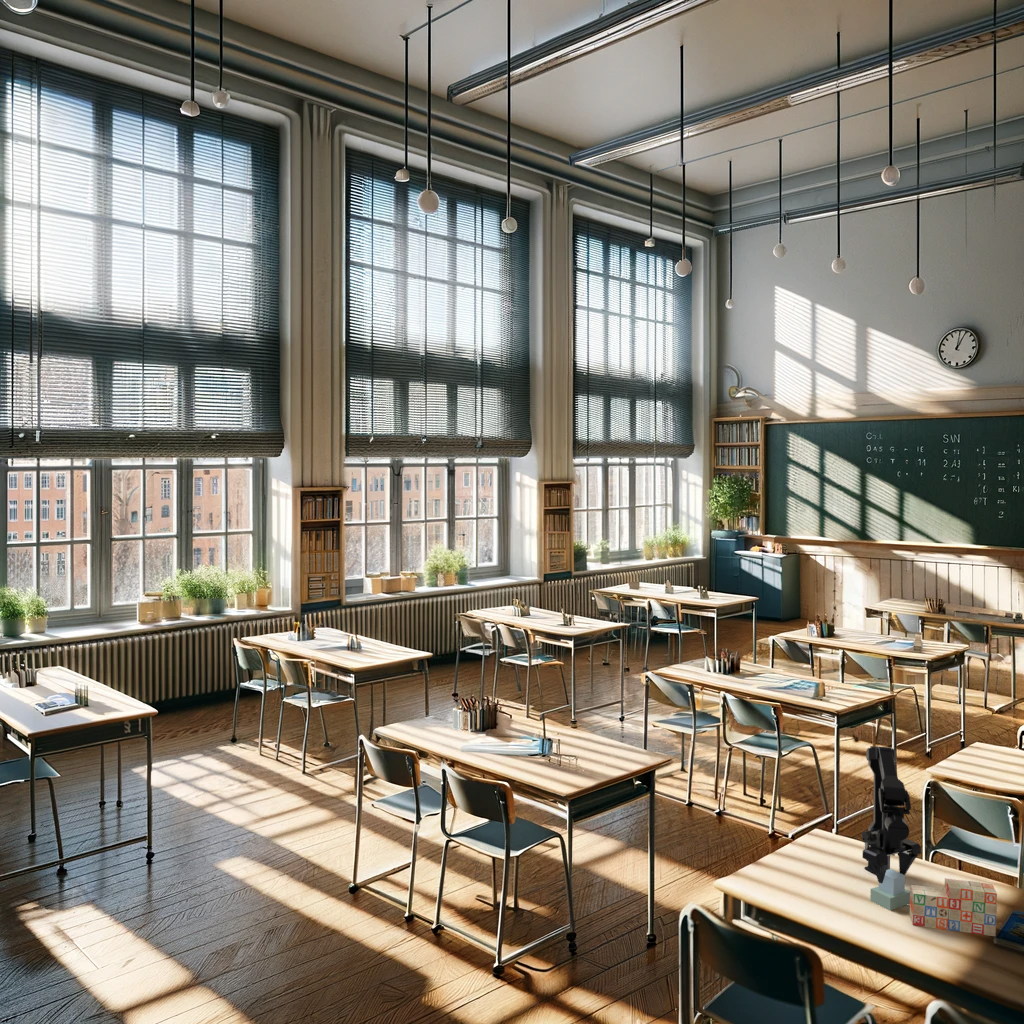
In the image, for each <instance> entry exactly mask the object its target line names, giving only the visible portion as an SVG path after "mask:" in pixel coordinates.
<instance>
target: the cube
mask: <svg viewBox="0 0 1024 1024" xmlns="http://www.w3.org/2000/svg"><path fill="white" fill-rule="evenodd" d="M905 883H906V874H905V875H903V874H901V873H900V872H898V871H896V870H894V869H892V868H890V869H889V870H886V873H885V877H884V880H883V883H879V882H878V886H879V889H880V890H882V891H884V892H887V893H889V894H891V895H893V896H894V895H897V894H900V893H903V892H904V891H905V889H906V888H905V887H906V885H905Z"/></svg>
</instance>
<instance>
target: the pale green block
mask: <svg viewBox="0 0 1024 1024" xmlns="http://www.w3.org/2000/svg"><path fill="white" fill-rule="evenodd" d="M869 900H870V902H871V903H873V902H874V904H875V903H876V904H875V905H878V906H879V905H880V907H881V906H882V908H883V907H884V908H883V909H885V908H886V910H888V911H890V910H891V911H893V909H894V910H897V909H900V908H902V907H901V906H904V905H907V904H910V890H908V889H906V888H905V891H904V892H903V893H900V894H897V895H894V896H893V895H891V894H889V893H887V892H884V891H882V890H880V889H879V885H878V886H875V887H872V888H870V899H869ZM907 906H908V905H907ZM899 907H900V908H899ZM904 907H905V906H904ZM896 908H897V909H896Z"/></svg>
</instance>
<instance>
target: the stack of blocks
mask: <svg viewBox="0 0 1024 1024" xmlns="http://www.w3.org/2000/svg"><path fill="white" fill-rule="evenodd" d="M909 889H910V890H909V891H910V905H909V916H910V917H909V918H910V922H911V924H912V925H913V926H918V927H924V928H925V927H926V928H930V927H931V928H932V929H939V930H946V931H947V930H948V931H953V932H961V933H968V934H969V933H970V934H975V935H984V936H990V937H991V936H992V937H996V936H997V935H996V933H997V915H998V914H997V913H998V904H997V903H998V901H997V900H998V893H997V891H996V889H995V887H994V885H993V884H992V883H986V882H985V883H984V882H980V881H973V880H963V879H952V878H946V877H945V878H944V887H943V888H941V887H932V886H924V885H918V884H917V885H916V884H910V888H909Z"/></svg>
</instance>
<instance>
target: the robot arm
mask: <svg viewBox="0 0 1024 1024" xmlns="http://www.w3.org/2000/svg"><path fill="white" fill-rule="evenodd" d="M865 752H866V753H865V756H866V758H865V759H866V761H868V762H867V763H868V767H869V768H870V770H871V772H872V773H873V821H872V822H871V823H870V824H869V826H868V828H867V829H868V830H865V831H862V832H861V833H862V834H861V840H862V842H863V843H864V849H862V859H864V860H865V861H866V862H867V866H864V870H866V871H868V872H870V873H872V874H874V873H875V874H874V875H876V878H877V882H878V884H879V883H883V880H884V877H885V873H886V870H889V869H891V856H893V857H895V855H896V854H897V857H898V867H899V868H898V871H899V873H901V874H903V875H905V876H906V874H907V873H908V871H909V869H910V867H911V866H912V864H913V863H914V862H915V860H916V858H918V857H919V855H921V854H922V847H921V846H920V844H919V843H918V842H917V841H916V842H915V841H913V840H911V839H908V837H909V835H910V827H909V825H908V823H907V822H906V819H905V816H904V815H910V811H912V805H911V797H910V796H911V795H910V793H909V791H908V790H906V787H905V784H904V782H903V781H902V780H900V779H899V778H898V777H899V776H898V773H897V768H896V764H895V763H897V761H898V760H897V750H896V749H894V748H893V747H890V746H877V745H875V746H873V745H872V746H870V747H868V748H867V749H866V751H865Z"/></svg>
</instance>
